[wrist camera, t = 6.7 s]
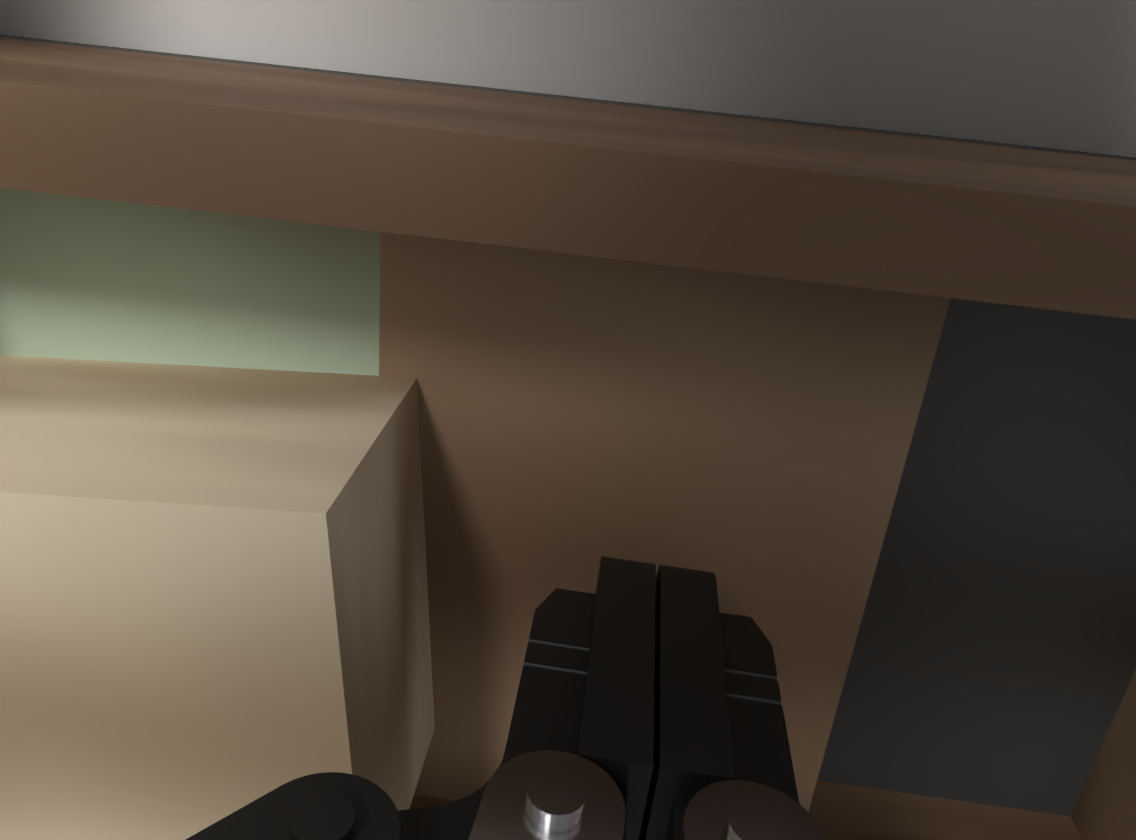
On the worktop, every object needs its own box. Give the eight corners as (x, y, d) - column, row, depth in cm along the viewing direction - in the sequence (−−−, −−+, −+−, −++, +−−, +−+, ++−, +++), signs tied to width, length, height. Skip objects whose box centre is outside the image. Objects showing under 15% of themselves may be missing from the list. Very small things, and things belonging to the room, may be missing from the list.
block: (-13, 354, 13) (-249, 475, 9) (416, 377, 12) (325, 513, 9) (75, 698, 15) (-88, 888, 12) (434, 729, 15) (368, 935, 11)
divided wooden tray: (-70, 27, 13) (-414, 35, 9) (1897, 240, 12) (2572, 366, 8) (51, 696, 18) (-132, 900, 14) (1437, 894, 17) (1691, 1185, 12)
